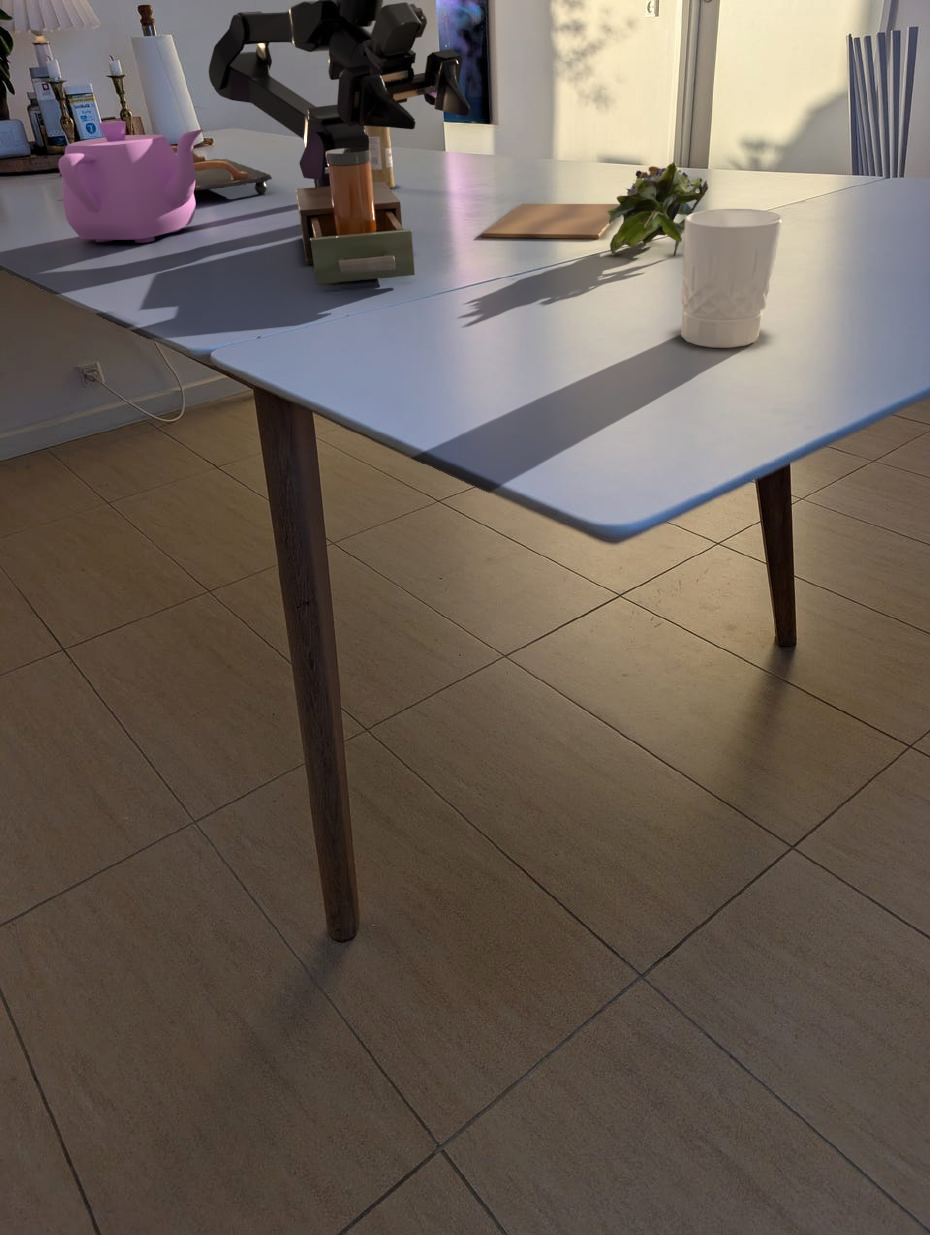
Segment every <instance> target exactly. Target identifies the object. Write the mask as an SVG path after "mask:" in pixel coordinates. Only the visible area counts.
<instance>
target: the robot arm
mask: <svg viewBox="0 0 930 1235" xmlns="http://www.w3.org/2000/svg"><path fill="white" fill-rule="evenodd" d="M384 1H385V0H309V1H307V0H305V1H301V2H299V3H296V4H295V5H292V6H291V7H289V10H288V11H283V12H281V11H280V12H262V11H240V12H237V13H235V14H234V15H233V16H232V17H231V20H230V23H229V27H228V30H227V31H226V32H225V33H224V34H223V35H222V37H220V38H219V40H218V41H217V43H216V44H215V45H214V47H213V51H212V54H211V58H210V62H209V66H208V77H209V81H210V83H211V85H212V87H213V89H214V91H215V92H216V93H217V94H218V95H219V96H220V97H221V98H225V99H227V100H231V101H235V102H241V103H250V104H251V105H253V106H255V107H256V108H258V109H259V110H260V111H262V112H263V113H265V114H266V115H267V116H269V117H270V118H272V119H273V120H275V121H276V122H277V123H279V124H280V125H281V126H283V127H285V128H286V129H288V130H289V131H290V132H292V133H294V134H295V135H297V137H299V138H301V139H302V140H303V142H304V150H303V153H302V155H301V157H300V160H299V163H298V164H299V167H300V171H301V174H302V177H303V178H304V179H309V180H313V181H314V187H326V186H330V178H329V170H328V164H327V161H326V152H327V151H329V150H334V149H342V148H368V149H369V137H368V134H367V132H366V130H365V126H377V127H389V128H391V129H392V128H394V129H403V130H414V129H415V128H416V121H417V120H416V119H415V118H414V117H413V115H412V114H411V113H410V112H409V111H408V110H407V109H405V107H404V106H403V105H401V104H402V103H407V102H408V99H409V98H414V97H418V96H424V97H423V98H424V101H425V102H426V103H427V104H429V105H431V106H434V110H436V111H441V112H444V113H449V114H453V115H456V116H461V117H469V116H470V110H471V107H470V104H469V103H468V101H467V100H466V98H465V96H464V93H463V92H462V90H461V89H460V85H459V82H460V77H461V71H462V66H463V61H464V60H463V57H462V56H461V54H460V53H458V52H457V51H456V50H454V49H452V48H449V49H443V50H438V51H432V52H431V53H430V54H428V55H427V56H426V62H425V69H424V72H421V73H417V74H416V73H415V71H414V70H415V69H414V68H413V64H415V63H416V57H417V52H415V51H414V50H413V49H412V48H413V46H414V44H415V41H416V39H418V38H422V36H423V34H424V32H425V29H426V27H427V24H428V19H427V16H426V15H425V14H424V12H423V8H421V7H417V6H416V4H415V3H410V4H409V2H407V1H406V2H405V1H404V2H398V3H392V4H386V5H384ZM373 22H374V25H373ZM371 26H373V28H372V30H371V32H370V31H369V30H368V29H366V28H368V27H369V28H370V27H371ZM270 43H289V44H293V46H294V47H295V48H296V49H299V50H302V51H304V52H308V53H315V52H316V53H318V52H328V57H329V58H328V59H327V63H328V69H327V70H328V71H327V72H328V77H329V79H330V80H331V81H337V80H338V86H337V88H338V89H337V90H338V91H337V103H336V104H329V105H320V106H316V105H315V104H313V103H311V102H310V101H308V100H307V99H305V98H304V97H303V96H301V95H299V94H298V93H297V92H295V91H293V90H292V89H290V88H289V87H288V86H286V85H284V84H283V83H281V82H280V81H278V80H277V79H275V78H274V77H272V76H271V74H270V73H271V72H270V69H271V66H272V64H273V59H272V55H271V51H270V47H269V46H270ZM245 45H257V47H256V49H255V51H243V50H244V49H245Z"/></svg>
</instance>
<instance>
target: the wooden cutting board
mask: <svg viewBox="0 0 930 1235" xmlns="http://www.w3.org/2000/svg"><path fill="white" fill-rule="evenodd" d="M619 205H620V203H521V204H519V205H518V206H517V207H516V208H514V209H513V210H511V211H510V212H509V213H508V214H506V215H505V216H504V217H502V218H501V219H499V220H498V221H496V222H495V223H494V224H493V225H492V226H490V227H489V228H487V229H486V230H485V231H483V232H482V233H481V238H514V239H515V238H516V239H517V238H519V239H520V238H521V239H524V238H525V239H526V238H527V239H586V240H587V239H591V240H593V239H594V240H595V239H596V240H597V239H598V240H599V239H601V237H602V236H603V234H604V233H605V232H606V231H607V230H608V229H609V227H610V226H611V225H612V224H613V223H614V221H612V222H611V224H609V218H610V216H611V215H609V214H608V209H613V208H616V207H618V206H619Z"/></svg>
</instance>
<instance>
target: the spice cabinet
mask: <svg viewBox="0 0 930 1235" xmlns="http://www.w3.org/2000/svg"><path fill="white" fill-rule="evenodd" d="M372 186H373V197H374V207H375V210H381V209H390V210H391V212H392V213H393V215H394V216H395V217H396V219H397V220H398V222H399V223H400V225H401V226H402V227H403V219H402V208H401V206H402V205H401V201H400V200H399V198H398V196H396V194H395V193H394V192H393V190H391V189H392V188H389V187H388V186H387V184H386V183H385V182H376V183H372ZM295 195H296V201H297V209H298V215H299V223H300V229H301V237H302V243H303V249H304V254H305V259H306V264H307V266H312V265H313V266H314V263H313V255H312V248H311V241H310V238H313V233H312V226H311V219H310V215H322V214H334V211H333V203H332V195H331V186H326V187H315V186H314V187H304V188H303V187H302V188H295Z"/></svg>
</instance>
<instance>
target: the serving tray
mask: <svg viewBox="0 0 930 1235" xmlns="http://www.w3.org/2000/svg"><path fill="white" fill-rule="evenodd" d="M171 147H172V149H173V150H174V152H175V154H177V147H178V145H177V146H176V145H171ZM193 161H194V169H195V188H194V192H197V191H205V190H206V191H207V190H213V189H215V190H216V189H222V188H229V187H239V186H246V185H249V184H254V190H255V192H256V193H257V195H259V196H262V195H266V194H267V191H268V186H267V184H266V183H265V182H268V181H270V180H272V179H273V177H272V176H271V175H270V173H266V172H264V171H261V170H259V169H255V168H252V167H249V166H247V165H244V164H241V163H238V162H235V161H233V160H230V159H227V158H223V159H222V158H213V159H206V157H205V156H204V155H197V154H196V153H195V152H194V151H193Z"/></svg>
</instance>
